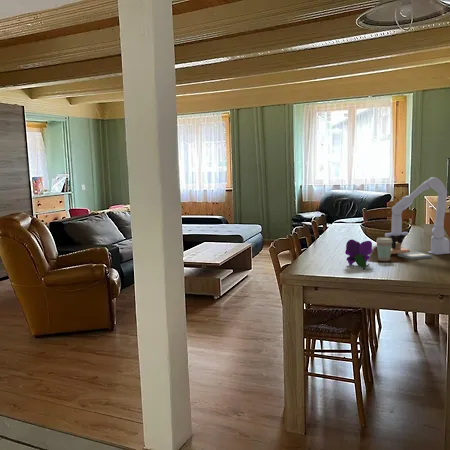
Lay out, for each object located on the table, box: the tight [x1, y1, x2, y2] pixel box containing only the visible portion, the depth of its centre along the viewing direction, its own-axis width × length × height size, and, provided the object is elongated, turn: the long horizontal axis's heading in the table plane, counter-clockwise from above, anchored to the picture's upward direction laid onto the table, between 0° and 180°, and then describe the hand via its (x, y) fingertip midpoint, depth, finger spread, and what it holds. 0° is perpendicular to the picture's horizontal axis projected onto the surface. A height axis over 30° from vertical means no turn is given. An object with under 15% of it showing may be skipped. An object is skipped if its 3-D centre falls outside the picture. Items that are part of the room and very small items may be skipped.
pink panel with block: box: [390, 241, 411, 255], centre depth 276 cm, size 13×8×6 cm, turn 105°
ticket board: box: [397, 251, 433, 261], centre depth 261 cm, size 13×12×2 cm
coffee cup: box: [375, 236, 392, 262], centre depth 255 cm, size 8×9×12 cm
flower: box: [344, 239, 373, 270], centre depth 239 cm, size 15×15×14 cm
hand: (396, 248), depth 277 cm, fingers closed on pink panel with block, 3 cm apart
